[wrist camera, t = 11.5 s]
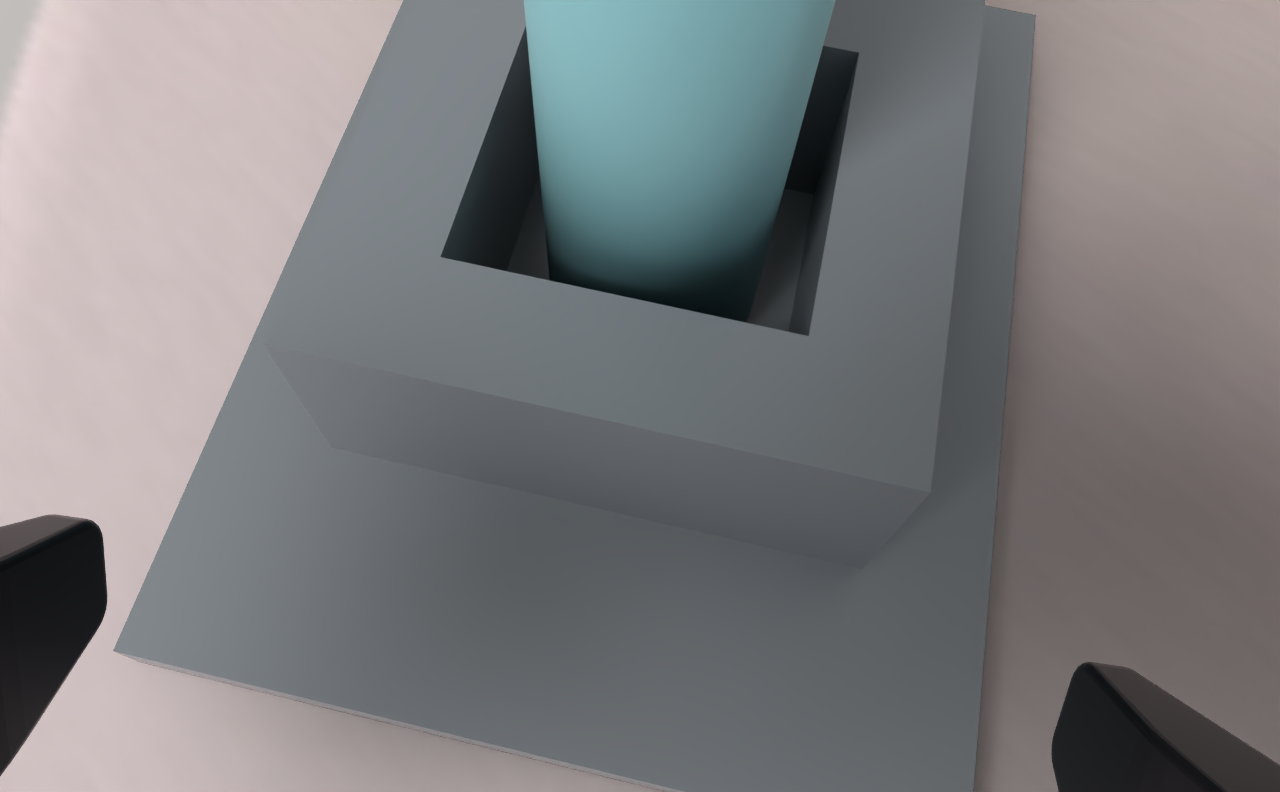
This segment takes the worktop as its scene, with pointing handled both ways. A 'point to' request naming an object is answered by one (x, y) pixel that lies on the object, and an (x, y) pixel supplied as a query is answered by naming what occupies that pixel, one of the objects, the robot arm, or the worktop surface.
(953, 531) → the socket holder
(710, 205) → the peg
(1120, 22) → the worktop surface
